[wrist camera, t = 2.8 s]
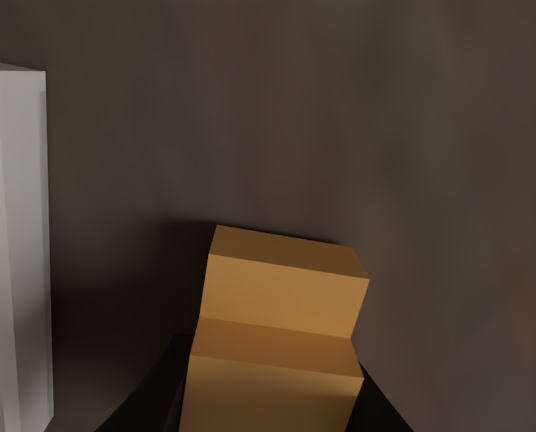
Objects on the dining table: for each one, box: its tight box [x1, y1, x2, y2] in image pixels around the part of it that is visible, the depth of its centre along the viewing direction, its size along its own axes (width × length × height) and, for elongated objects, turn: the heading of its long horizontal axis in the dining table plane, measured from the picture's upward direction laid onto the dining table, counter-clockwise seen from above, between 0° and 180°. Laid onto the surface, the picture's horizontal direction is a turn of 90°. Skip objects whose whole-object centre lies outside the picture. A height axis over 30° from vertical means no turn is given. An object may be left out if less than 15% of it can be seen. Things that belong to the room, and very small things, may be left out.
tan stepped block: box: [179, 225, 370, 432], centre depth 11 cm, size 8×4×4 cm, turn 169°
